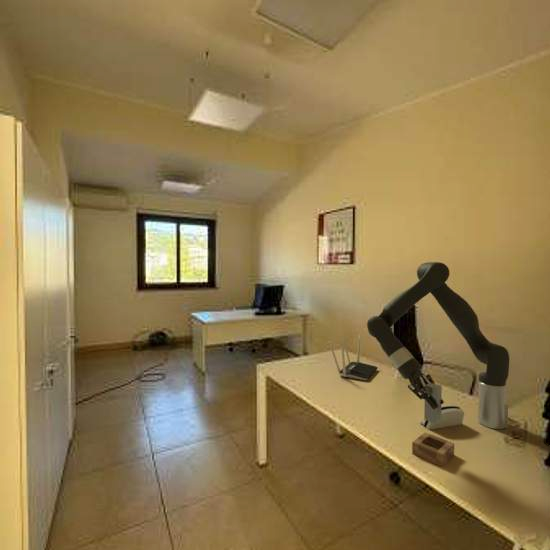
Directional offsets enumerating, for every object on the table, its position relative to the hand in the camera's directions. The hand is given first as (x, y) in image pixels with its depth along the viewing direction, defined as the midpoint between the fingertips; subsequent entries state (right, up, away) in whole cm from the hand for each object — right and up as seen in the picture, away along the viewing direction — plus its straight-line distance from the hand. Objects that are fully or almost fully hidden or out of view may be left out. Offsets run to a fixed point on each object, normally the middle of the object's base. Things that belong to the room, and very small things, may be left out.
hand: (438, 405), depth 108 cm
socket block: (-1, -18, +2) cm, 18 cm away
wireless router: (-7, -16, +87) cm, 89 cm away
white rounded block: (+13, -17, +22) cm, 31 cm away
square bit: (-1, -6, +2) cm, 6 cm away
